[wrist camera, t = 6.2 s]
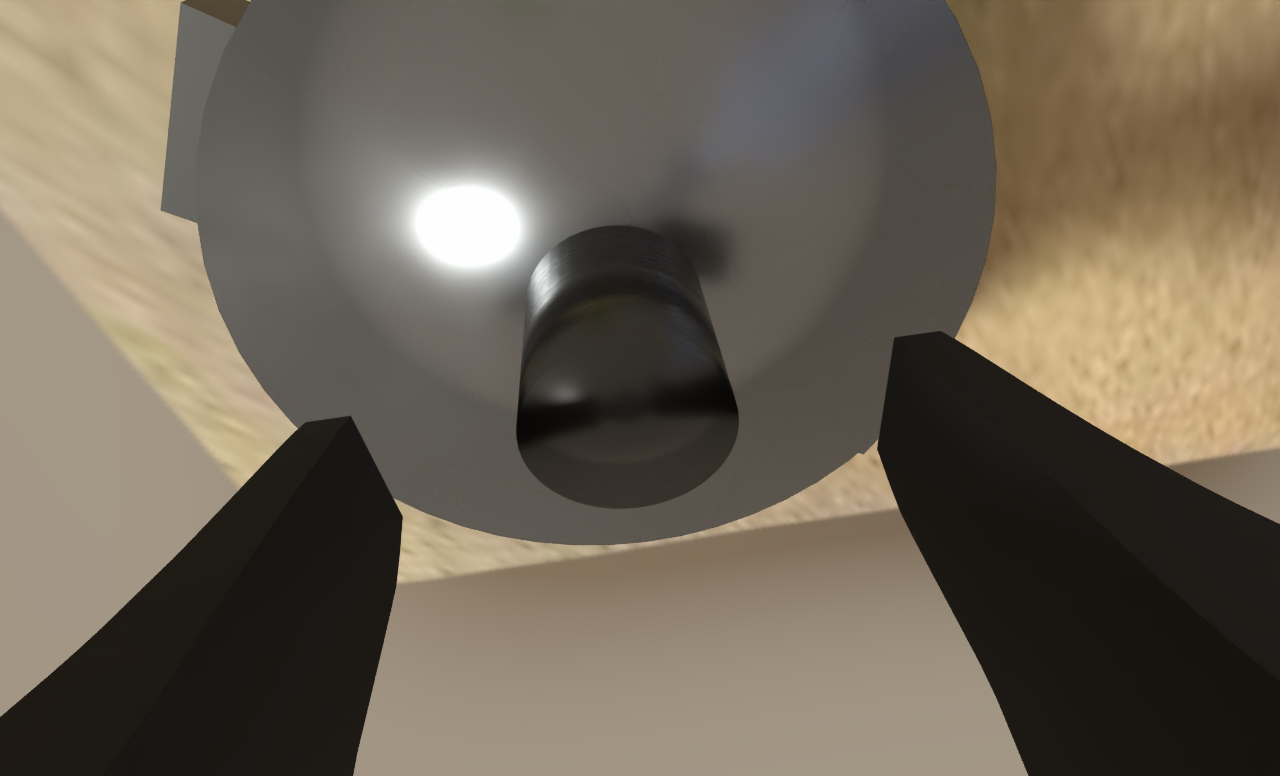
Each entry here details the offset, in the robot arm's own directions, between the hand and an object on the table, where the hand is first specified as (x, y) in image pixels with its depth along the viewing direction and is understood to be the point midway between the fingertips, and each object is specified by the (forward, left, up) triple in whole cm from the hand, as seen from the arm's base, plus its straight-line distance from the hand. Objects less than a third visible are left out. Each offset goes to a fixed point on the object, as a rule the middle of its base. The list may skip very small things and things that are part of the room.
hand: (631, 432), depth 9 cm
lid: (0, 0, -3) cm, 3 cm away
